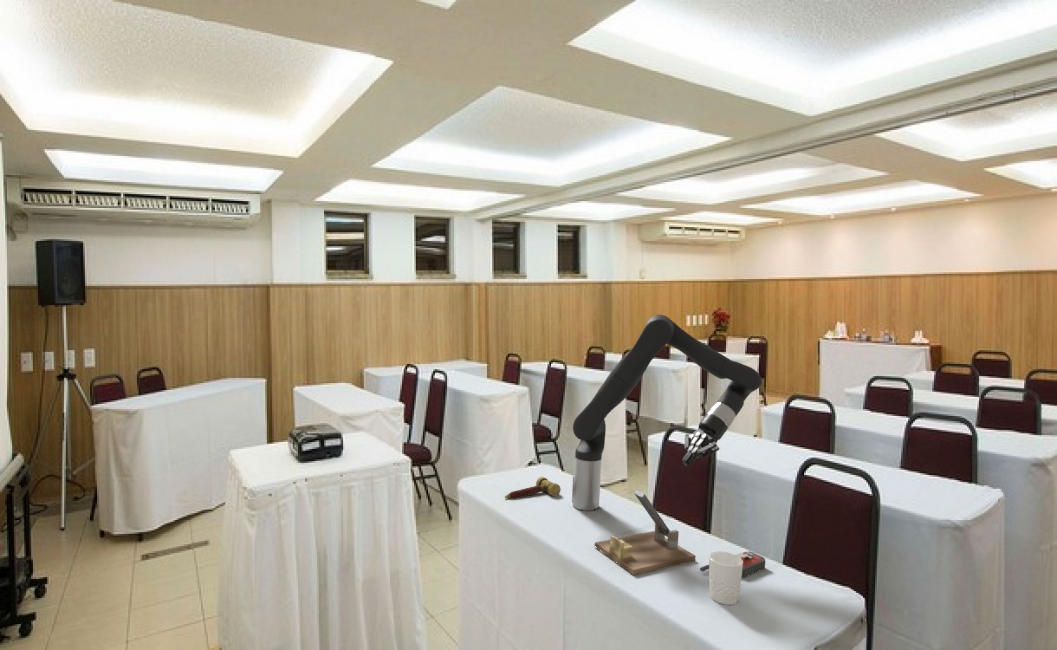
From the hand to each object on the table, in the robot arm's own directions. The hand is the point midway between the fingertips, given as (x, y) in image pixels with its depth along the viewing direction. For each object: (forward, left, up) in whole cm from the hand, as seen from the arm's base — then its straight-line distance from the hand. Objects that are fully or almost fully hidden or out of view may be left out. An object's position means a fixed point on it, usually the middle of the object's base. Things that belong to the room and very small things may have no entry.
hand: (685, 464), depth 167 cm
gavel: (-55, -22, -25) cm, 65 cm away
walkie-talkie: (+17, +4, -25) cm, 31 cm away
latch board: (0, -14, -25) cm, 28 cm away
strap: (0, -12, -14) cm, 18 cm away
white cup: (+27, -11, -25) cm, 38 cm away
